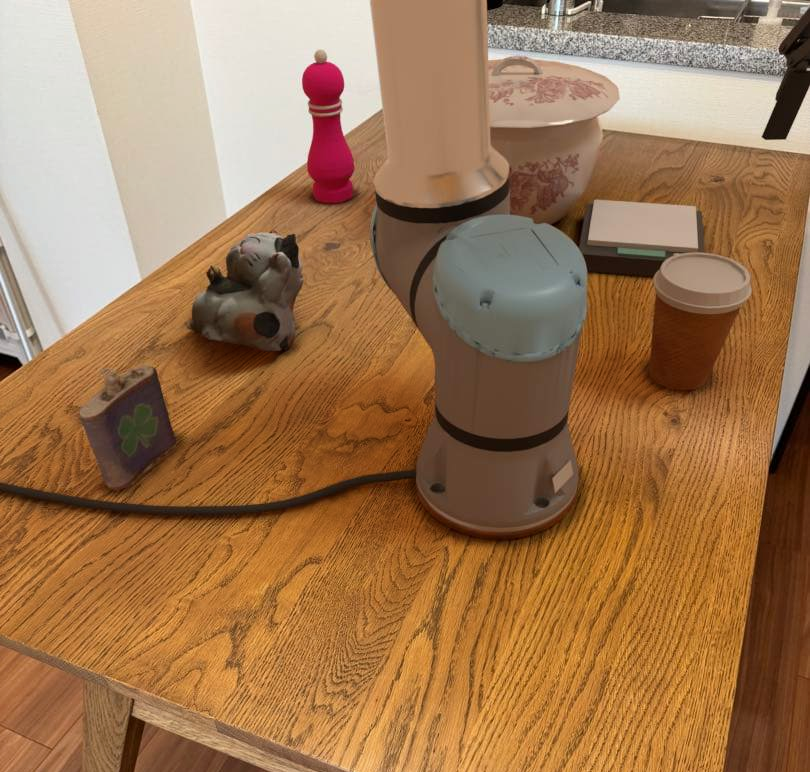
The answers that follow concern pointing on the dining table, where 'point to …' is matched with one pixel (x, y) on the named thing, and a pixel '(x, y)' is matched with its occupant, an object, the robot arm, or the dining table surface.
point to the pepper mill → (327, 132)
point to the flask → (128, 425)
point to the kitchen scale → (637, 236)
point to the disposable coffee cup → (694, 316)
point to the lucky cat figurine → (252, 294)
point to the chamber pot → (547, 131)
